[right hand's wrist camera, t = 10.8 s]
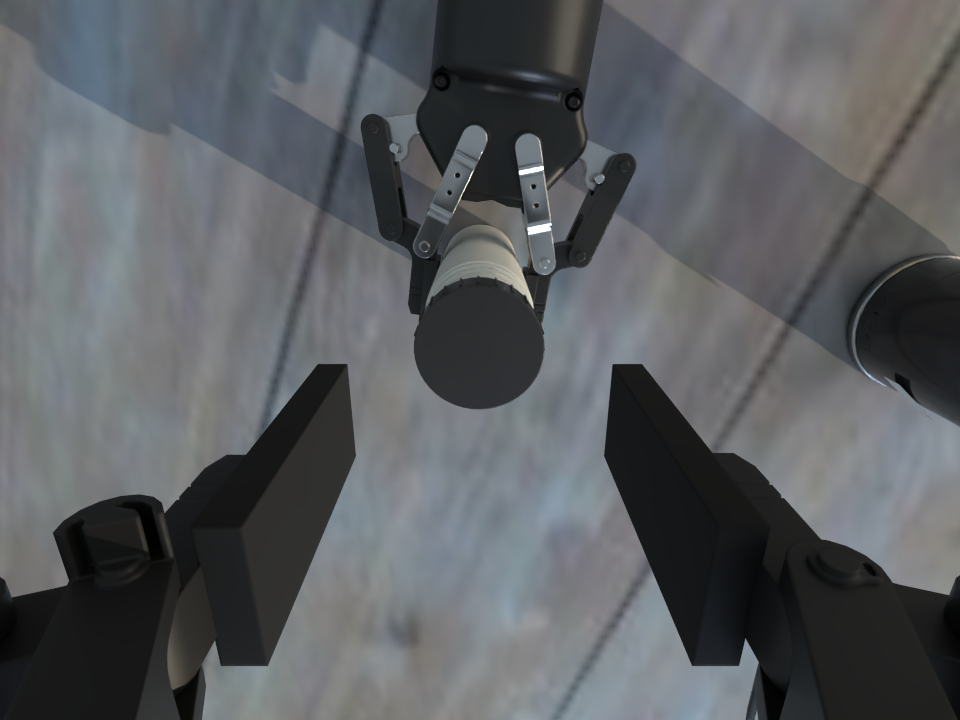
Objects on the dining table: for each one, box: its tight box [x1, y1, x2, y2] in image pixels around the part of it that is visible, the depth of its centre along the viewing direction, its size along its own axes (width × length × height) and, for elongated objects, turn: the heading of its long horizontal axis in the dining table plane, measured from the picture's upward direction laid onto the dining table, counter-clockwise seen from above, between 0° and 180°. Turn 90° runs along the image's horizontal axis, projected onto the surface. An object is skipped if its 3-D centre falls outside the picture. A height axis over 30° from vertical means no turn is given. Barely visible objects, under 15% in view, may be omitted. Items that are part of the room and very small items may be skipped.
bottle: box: [425, 225, 534, 309], centre depth 27 cm, size 5×5×18 cm
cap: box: [414, 276, 545, 409], centre depth 20 cm, size 5×5×2 cm
